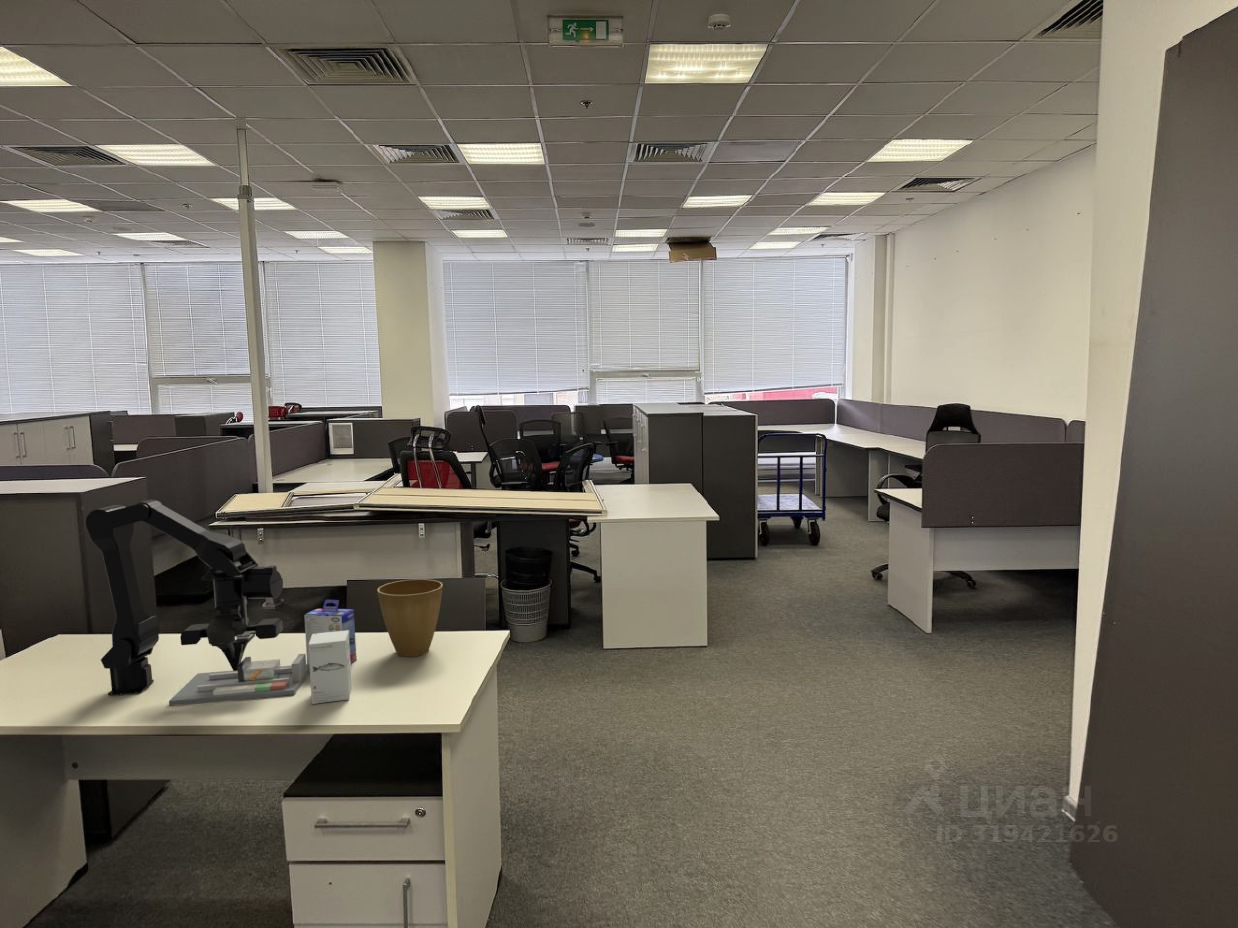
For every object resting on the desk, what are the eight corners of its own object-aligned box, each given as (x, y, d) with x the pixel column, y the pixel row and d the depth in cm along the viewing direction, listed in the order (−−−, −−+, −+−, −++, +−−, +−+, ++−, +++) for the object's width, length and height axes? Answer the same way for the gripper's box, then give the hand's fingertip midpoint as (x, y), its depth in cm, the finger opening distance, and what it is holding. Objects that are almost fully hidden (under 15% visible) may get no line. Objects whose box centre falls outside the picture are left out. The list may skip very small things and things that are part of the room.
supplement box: (311, 705, 149) (306, 644, 147) (315, 691, 156) (311, 632, 155) (350, 700, 151) (346, 640, 149) (352, 686, 158) (349, 628, 157)
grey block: (232, 692, 153) (230, 673, 153) (247, 674, 162) (245, 656, 162) (268, 688, 154) (267, 670, 154) (281, 671, 164) (279, 654, 163)
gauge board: (169, 705, 150) (167, 681, 150) (198, 677, 165) (196, 655, 165) (294, 694, 154) (292, 671, 154) (311, 667, 169) (310, 646, 169)
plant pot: (417, 666, 168) (413, 597, 167) (367, 657, 175) (363, 591, 173) (458, 645, 182) (455, 581, 180) (411, 637, 188) (407, 576, 186)
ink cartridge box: (358, 659, 174) (354, 598, 172) (345, 668, 169) (341, 605, 167) (320, 657, 176) (316, 597, 174) (306, 666, 171) (301, 604, 169)
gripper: (165, 613, 148) (173, 689, 150) (265, 606, 151) (271, 680, 153) (188, 598, 159) (194, 668, 161) (280, 591, 162) (286, 661, 164)
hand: (236, 670), depth 159 cm, fingers closed
